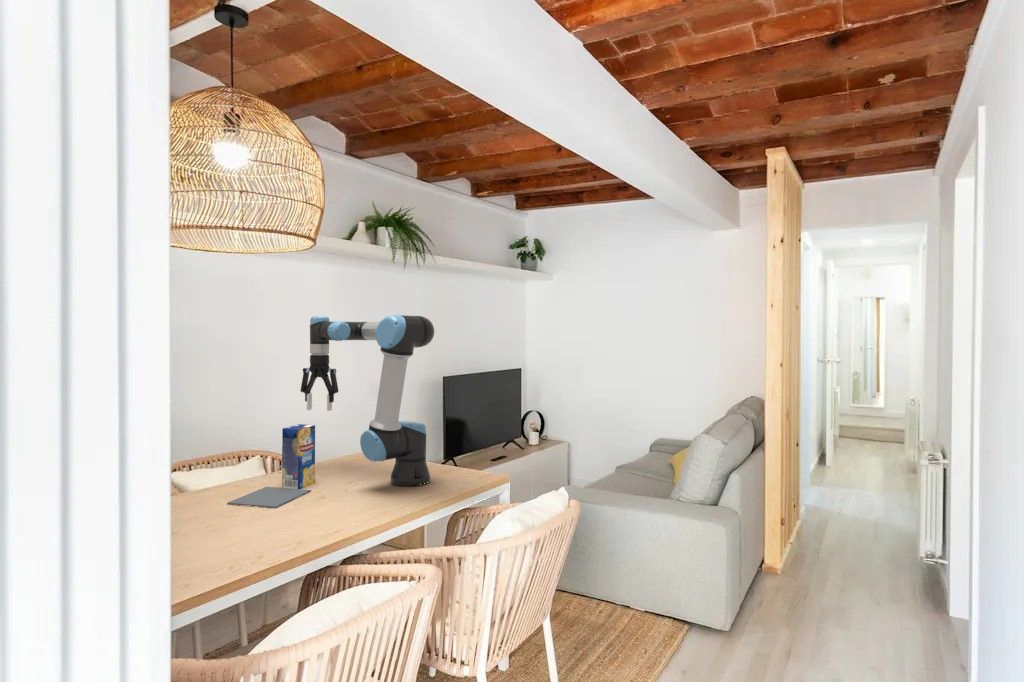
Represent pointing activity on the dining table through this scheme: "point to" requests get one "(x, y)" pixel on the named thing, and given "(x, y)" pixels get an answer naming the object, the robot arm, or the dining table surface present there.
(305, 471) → the blue cracker box
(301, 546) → the dining table surface
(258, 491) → the mat
